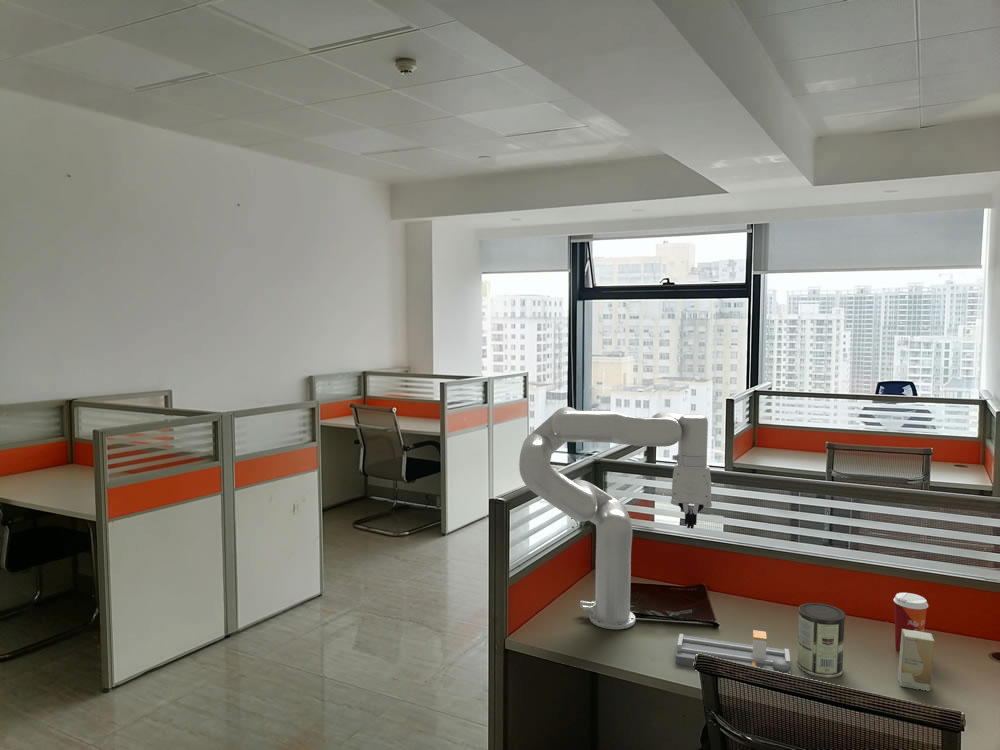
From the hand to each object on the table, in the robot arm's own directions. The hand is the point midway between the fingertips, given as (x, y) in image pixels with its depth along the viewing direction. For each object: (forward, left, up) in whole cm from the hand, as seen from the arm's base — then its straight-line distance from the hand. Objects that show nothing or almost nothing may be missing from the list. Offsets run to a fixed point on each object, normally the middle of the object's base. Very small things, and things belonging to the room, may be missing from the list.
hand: (690, 526), depth 199 cm
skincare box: (+52, -17, -27) cm, 61 cm away
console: (+12, -18, -27) cm, 35 cm away
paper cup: (+54, +1, -27) cm, 61 cm away
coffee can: (+32, -15, -27) cm, 45 cm away
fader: (+18, -18, -25) cm, 36 cm away
